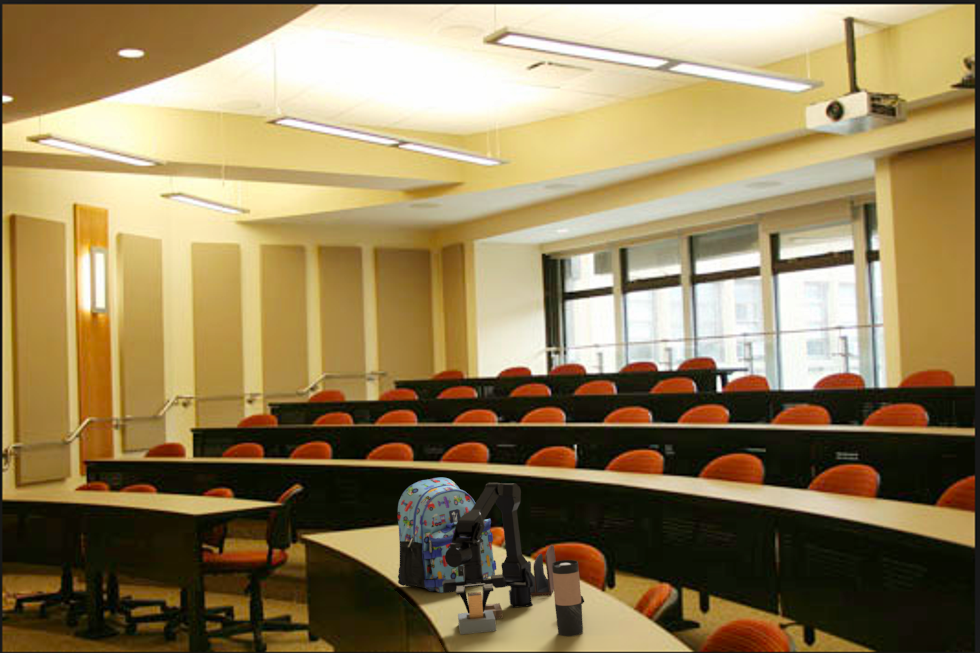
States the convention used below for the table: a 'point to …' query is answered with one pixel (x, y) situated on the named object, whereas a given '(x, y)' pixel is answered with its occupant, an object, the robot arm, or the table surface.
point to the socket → (476, 623)
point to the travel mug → (567, 597)
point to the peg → (475, 605)
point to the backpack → (435, 533)
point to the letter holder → (541, 582)
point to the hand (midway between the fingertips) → (476, 612)
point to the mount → (495, 610)
